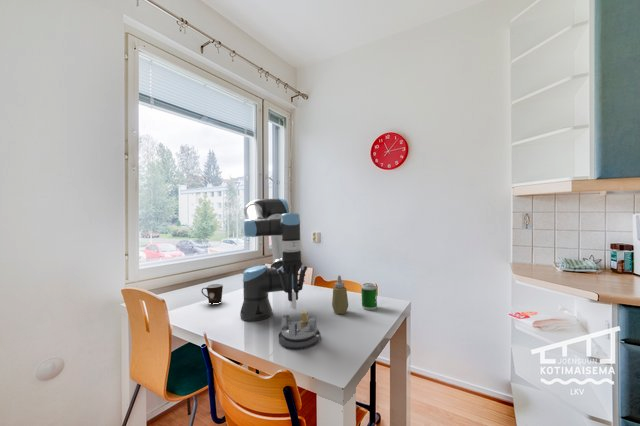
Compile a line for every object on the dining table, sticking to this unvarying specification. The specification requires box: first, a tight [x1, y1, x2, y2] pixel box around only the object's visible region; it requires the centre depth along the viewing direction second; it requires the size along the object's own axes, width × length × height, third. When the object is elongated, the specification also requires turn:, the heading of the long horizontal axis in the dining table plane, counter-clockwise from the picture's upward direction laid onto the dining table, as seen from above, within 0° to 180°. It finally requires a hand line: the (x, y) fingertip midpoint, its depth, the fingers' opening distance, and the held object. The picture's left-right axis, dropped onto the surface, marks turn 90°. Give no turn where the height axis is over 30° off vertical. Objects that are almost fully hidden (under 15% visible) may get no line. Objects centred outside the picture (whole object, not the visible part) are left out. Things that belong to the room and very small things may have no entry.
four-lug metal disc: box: [281, 310, 318, 342], centre depth 102 cm, size 14×14×6 cm
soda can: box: [360, 282, 378, 311], centre depth 132 cm, size 8×8×12 cm
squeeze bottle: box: [331, 274, 349, 315], centre depth 128 cm, size 8×8×18 cm
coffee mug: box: [201, 283, 224, 304], centre depth 148 cm, size 12×9×10 cm
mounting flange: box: [278, 328, 321, 351], centre depth 102 cm, size 16×16×2 cm
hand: (293, 308), depth 107 cm, fingers closed
